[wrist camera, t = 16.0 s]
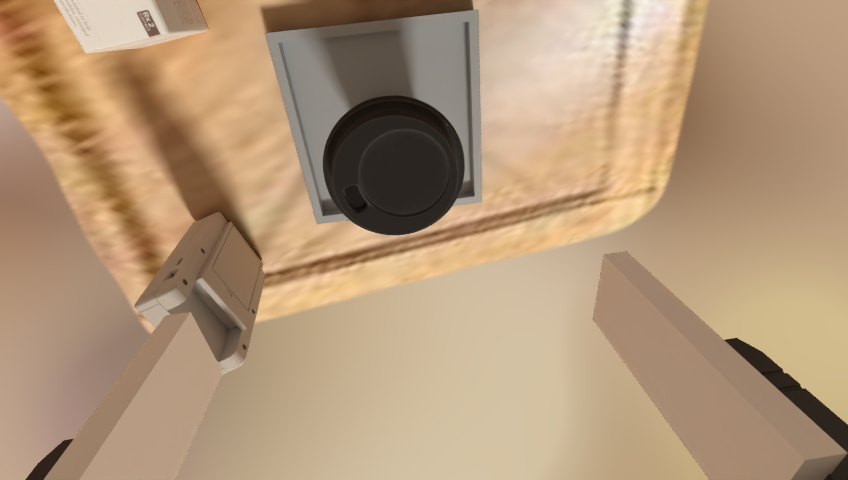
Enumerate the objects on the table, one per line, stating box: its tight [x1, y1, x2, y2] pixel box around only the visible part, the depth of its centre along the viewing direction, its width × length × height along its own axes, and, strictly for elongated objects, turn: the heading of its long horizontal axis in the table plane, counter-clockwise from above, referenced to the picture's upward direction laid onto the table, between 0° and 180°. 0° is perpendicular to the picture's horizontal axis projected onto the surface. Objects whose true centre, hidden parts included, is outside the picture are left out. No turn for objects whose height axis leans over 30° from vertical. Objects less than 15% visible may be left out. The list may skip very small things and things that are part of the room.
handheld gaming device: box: [134, 212, 265, 375], centre depth 35 cm, size 9×15×4 cm
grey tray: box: [265, 10, 482, 224], centre depth 36 cm, size 18×18×2 cm
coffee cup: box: [323, 94, 465, 235], centre depth 30 cm, size 9×9×15 cm
